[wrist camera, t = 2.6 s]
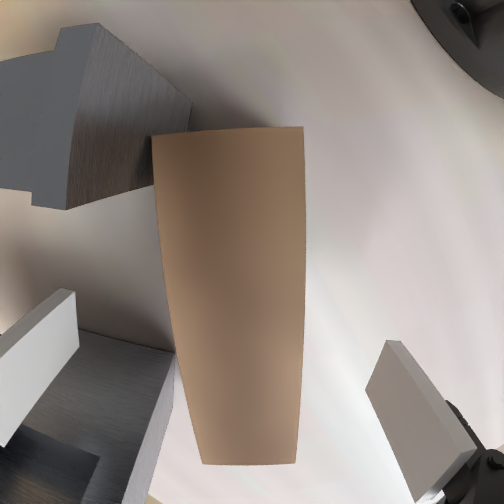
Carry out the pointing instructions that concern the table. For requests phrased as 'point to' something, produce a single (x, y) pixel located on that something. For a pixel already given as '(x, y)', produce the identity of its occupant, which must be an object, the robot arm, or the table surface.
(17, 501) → the cup bracket stand
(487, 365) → the table surface
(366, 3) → the table surface
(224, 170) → the walnut rail
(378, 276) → the table surface
